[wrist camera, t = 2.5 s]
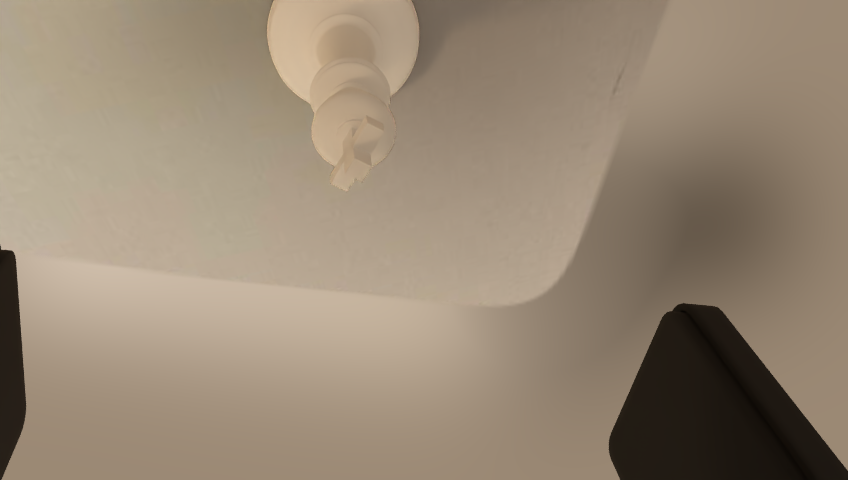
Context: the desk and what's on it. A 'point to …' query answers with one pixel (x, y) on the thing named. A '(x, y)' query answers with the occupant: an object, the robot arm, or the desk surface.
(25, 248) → the desk surface
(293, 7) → the chess piece
